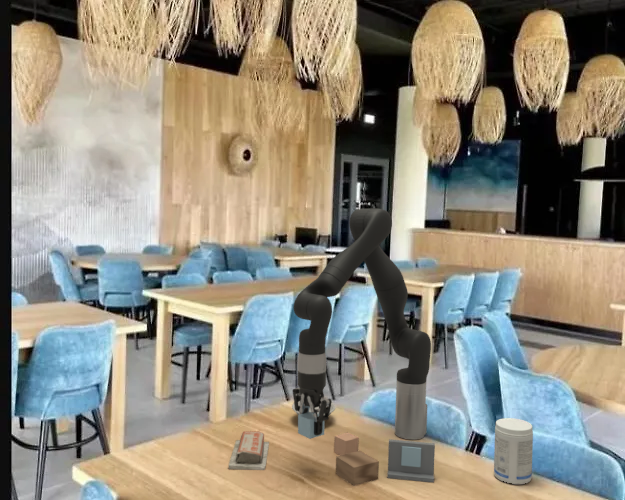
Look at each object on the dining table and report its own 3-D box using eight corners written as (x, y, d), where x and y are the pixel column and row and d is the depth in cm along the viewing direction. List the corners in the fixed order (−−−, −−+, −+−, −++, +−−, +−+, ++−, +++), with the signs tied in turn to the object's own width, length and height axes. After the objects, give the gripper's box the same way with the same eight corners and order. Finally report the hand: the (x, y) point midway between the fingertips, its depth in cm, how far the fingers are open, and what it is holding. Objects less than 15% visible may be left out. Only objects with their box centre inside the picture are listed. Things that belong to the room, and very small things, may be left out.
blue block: (312, 428, 164) (312, 411, 164) (324, 434, 161) (324, 416, 160) (297, 433, 161) (298, 414, 161) (309, 439, 157) (309, 420, 157)
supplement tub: (529, 472, 164) (531, 419, 163) (533, 488, 155) (536, 431, 154) (491, 468, 166) (494, 416, 165) (494, 483, 157) (496, 428, 156)
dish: (334, 431, 190) (334, 416, 190) (288, 429, 191) (289, 414, 191) (336, 413, 208) (336, 399, 208) (294, 411, 209) (294, 397, 209)
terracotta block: (346, 448, 177) (347, 432, 177) (358, 454, 174) (358, 437, 173) (333, 452, 174) (334, 435, 174) (345, 458, 170) (346, 441, 170)
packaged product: (236, 429, 179) (269, 429, 179) (235, 444, 179) (269, 445, 179) (228, 453, 161) (265, 454, 161) (227, 471, 161) (265, 472, 161)
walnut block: (359, 468, 164) (360, 450, 164) (378, 479, 158) (378, 461, 157) (335, 474, 160) (336, 456, 160) (353, 486, 153) (354, 467, 153)
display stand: (388, 468, 164) (389, 436, 164) (433, 472, 162) (434, 440, 161) (387, 478, 158) (388, 444, 158) (433, 482, 156) (435, 448, 156)
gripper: (340, 372, 156) (339, 436, 158) (306, 361, 167) (305, 420, 169) (318, 377, 152) (317, 443, 153) (284, 365, 163) (283, 426, 164)
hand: (311, 431), depth 161 cm, fingers closed on blue block, 5 cm apart
